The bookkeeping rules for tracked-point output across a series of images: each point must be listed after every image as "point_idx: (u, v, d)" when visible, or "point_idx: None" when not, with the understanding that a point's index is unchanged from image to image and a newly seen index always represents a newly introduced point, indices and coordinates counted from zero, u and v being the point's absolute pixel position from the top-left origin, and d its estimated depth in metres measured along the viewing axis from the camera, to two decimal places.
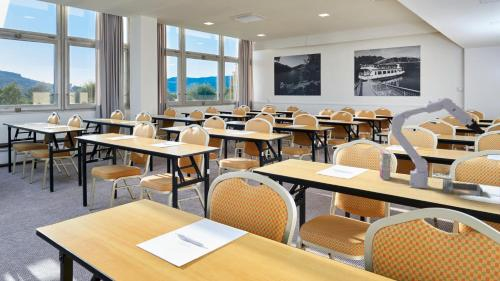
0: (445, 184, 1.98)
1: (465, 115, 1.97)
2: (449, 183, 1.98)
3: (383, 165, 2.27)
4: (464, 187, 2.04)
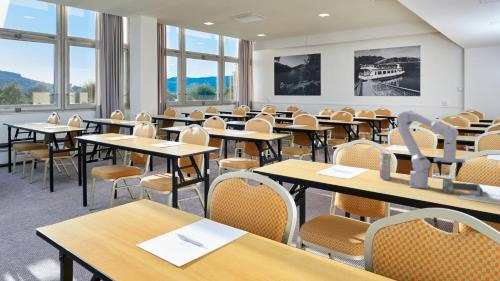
0: (445, 184, 1.98)
1: (444, 154, 1.98)
2: (449, 183, 1.98)
3: (383, 165, 2.27)
4: (464, 187, 2.04)
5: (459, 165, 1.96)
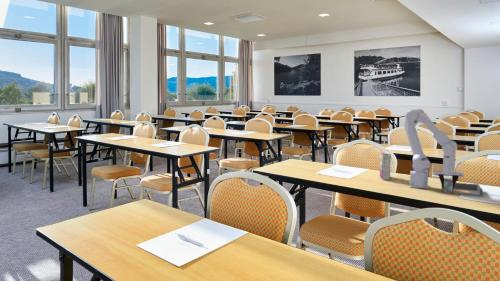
0: (445, 184, 1.98)
1: (444, 167, 1.99)
2: (449, 183, 1.98)
3: (383, 165, 2.27)
4: (464, 187, 2.04)
5: (455, 178, 1.97)
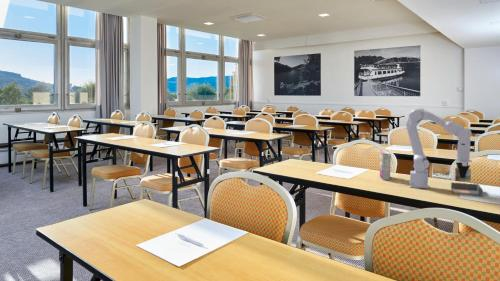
0: (470, 172, 1.95)
1: (467, 155, 1.94)
2: None
3: (383, 165, 2.27)
4: (464, 187, 2.04)
5: None
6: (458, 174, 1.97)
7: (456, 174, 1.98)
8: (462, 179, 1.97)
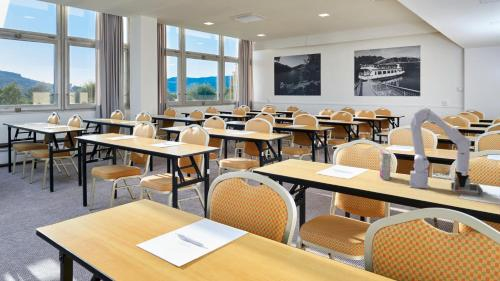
0: None
1: (466, 165, 1.95)
2: (469, 180, 1.98)
3: (383, 165, 2.27)
4: None
5: None
6: (457, 183, 1.98)
7: (455, 183, 1.98)
8: (461, 188, 1.97)
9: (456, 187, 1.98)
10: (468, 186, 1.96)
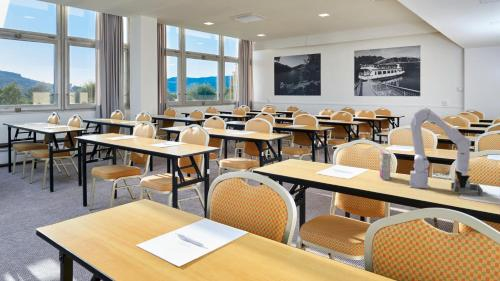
0: None
1: (466, 165, 1.95)
2: (469, 182, 1.98)
3: (383, 165, 2.27)
4: None
5: None
6: (457, 185, 1.98)
7: (455, 185, 1.98)
8: (461, 190, 1.98)
9: (456, 189, 1.99)
10: (468, 188, 1.96)
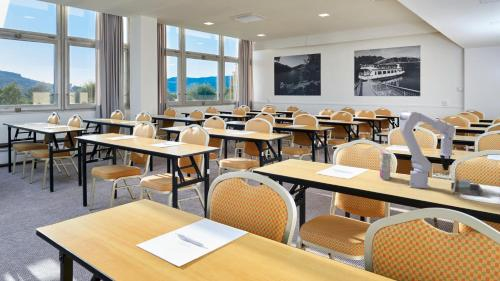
0: None
1: (449, 149, 2.10)
2: (469, 182, 1.98)
3: (383, 165, 2.27)
4: None
5: (450, 156, 2.16)
6: (457, 185, 1.98)
7: (455, 185, 1.98)
8: (461, 190, 1.98)
9: (456, 189, 1.99)
10: (468, 188, 1.96)
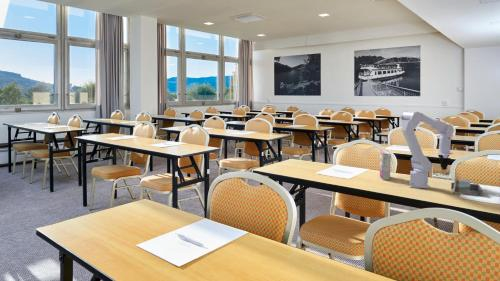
0: None
1: (448, 148, 2.11)
2: (469, 182, 1.98)
3: (383, 165, 2.27)
4: None
5: (448, 156, 2.18)
6: (457, 185, 1.98)
7: (455, 185, 1.98)
8: (461, 190, 1.98)
9: (456, 189, 1.99)
10: (468, 188, 1.96)
